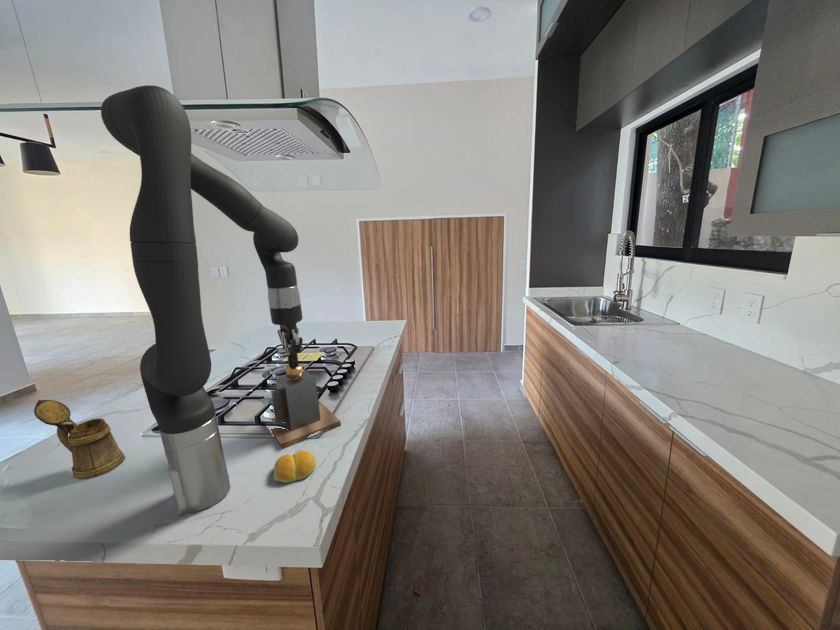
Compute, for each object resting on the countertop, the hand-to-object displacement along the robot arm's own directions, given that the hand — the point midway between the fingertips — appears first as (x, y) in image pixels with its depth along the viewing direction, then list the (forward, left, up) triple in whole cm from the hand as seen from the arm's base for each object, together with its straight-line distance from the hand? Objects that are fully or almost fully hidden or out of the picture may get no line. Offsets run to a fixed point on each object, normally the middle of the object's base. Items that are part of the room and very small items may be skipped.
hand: (293, 366), depth 91 cm
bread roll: (-8, -18, -18) cm, 27 cm away
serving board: (0, 0, -17) cm, 17 cm away
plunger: (0, 0, -14) cm, 14 cm away
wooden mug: (-45, +16, -18) cm, 51 cm away
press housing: (-1, 0, -16) cm, 16 cm away
